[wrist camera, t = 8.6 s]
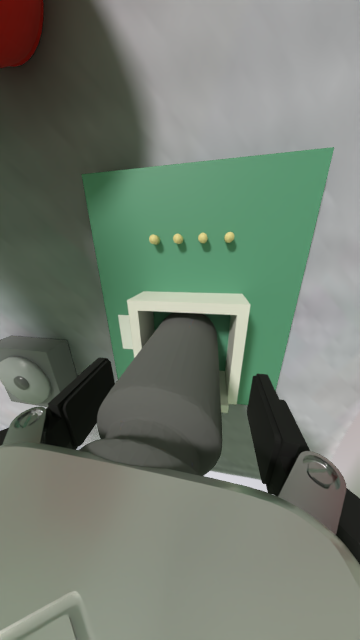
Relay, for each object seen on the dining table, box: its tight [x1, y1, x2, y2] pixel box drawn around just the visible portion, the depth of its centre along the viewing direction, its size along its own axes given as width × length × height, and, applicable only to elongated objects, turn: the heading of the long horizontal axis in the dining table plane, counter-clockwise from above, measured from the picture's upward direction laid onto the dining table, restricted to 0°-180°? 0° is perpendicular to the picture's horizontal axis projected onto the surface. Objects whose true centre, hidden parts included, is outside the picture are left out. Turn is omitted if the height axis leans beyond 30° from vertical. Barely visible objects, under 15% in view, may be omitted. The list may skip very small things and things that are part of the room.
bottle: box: [79, 312, 222, 476], centre depth 10 cm, size 6×6×15 cm
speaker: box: [0, 336, 77, 407], centre depth 23 cm, size 9×9×4 cm
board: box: [82, 147, 334, 413], centre depth 15 cm, size 22×18×6 cm
